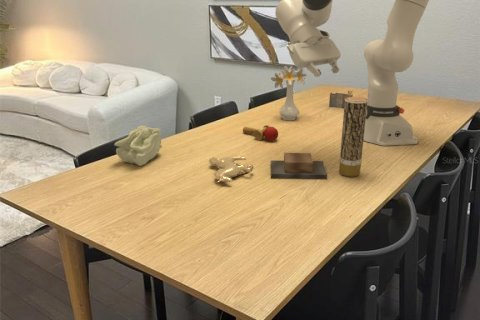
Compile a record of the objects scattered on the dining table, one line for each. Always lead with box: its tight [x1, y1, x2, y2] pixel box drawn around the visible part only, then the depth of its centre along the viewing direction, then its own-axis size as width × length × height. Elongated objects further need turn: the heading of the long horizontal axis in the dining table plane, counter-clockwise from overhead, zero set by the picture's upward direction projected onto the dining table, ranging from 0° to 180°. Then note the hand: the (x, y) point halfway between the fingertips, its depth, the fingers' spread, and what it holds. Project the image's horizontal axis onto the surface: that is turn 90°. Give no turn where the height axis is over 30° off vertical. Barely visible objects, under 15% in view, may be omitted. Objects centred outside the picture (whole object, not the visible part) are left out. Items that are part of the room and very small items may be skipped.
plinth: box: [270, 152, 328, 180], centre depth 139 cm, size 18×12×5 cm, turn 86°
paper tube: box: [338, 96, 368, 177], centre depth 133 cm, size 7×7×25 cm
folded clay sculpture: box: [114, 124, 163, 167], centre depth 149 cm, size 18×13×16 cm
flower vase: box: [270, 65, 308, 121], centre depth 194 cm, size 13×18×25 cm
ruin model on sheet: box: [328, 90, 354, 109], centre depth 218 cm, size 11×3×10 cm, turn 62°
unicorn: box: [208, 156, 255, 183], centre depth 138 cm, size 20×4×17 cm
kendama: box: [242, 124, 279, 142], centre depth 173 cm, size 8×6×18 cm
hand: (328, 73), depth 134 cm, fingers open, 8 cm apart
